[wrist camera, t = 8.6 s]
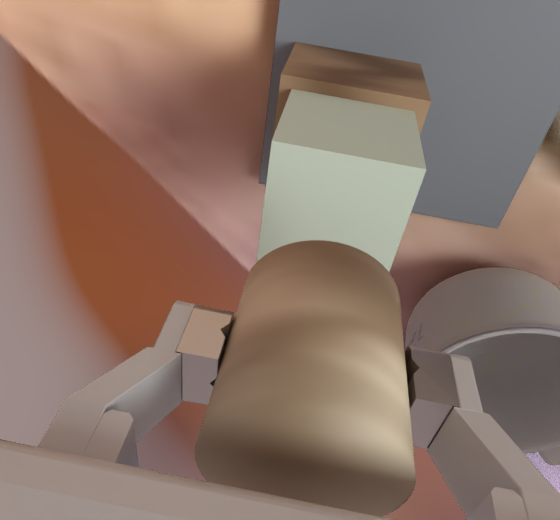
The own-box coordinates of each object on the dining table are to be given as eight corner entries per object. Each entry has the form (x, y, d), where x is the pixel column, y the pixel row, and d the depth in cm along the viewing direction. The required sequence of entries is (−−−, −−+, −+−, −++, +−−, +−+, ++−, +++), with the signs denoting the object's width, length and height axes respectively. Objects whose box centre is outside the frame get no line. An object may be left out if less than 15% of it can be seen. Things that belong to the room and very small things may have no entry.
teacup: (377, 271, 32) (380, 365, 26) (555, 217, 27) (610, 314, 21) (442, 394, 39) (456, 492, 32) (592, 367, 34) (642, 473, 28)
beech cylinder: (421, 258, 12) (449, 435, 8) (377, 367, 15) (381, 540, 11) (250, 225, 12) (197, 386, 8) (238, 340, 15) (193, 501, 11)
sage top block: (414, 111, 19) (426, 169, 15) (381, 215, 22) (384, 285, 18) (291, 88, 19) (271, 140, 15) (276, 194, 22) (256, 260, 18)
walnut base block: (420, 64, 22) (431, 101, 19) (386, 175, 26) (389, 225, 22) (295, 41, 23) (281, 74, 19) (280, 155, 26) (264, 201, 23)
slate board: (704, -201, 17) (720, -205, 16) (493, 219, 28) (497, 228, 27) (313, -262, 17) (310, -269, 16) (261, 175, 28) (258, 183, 28)
